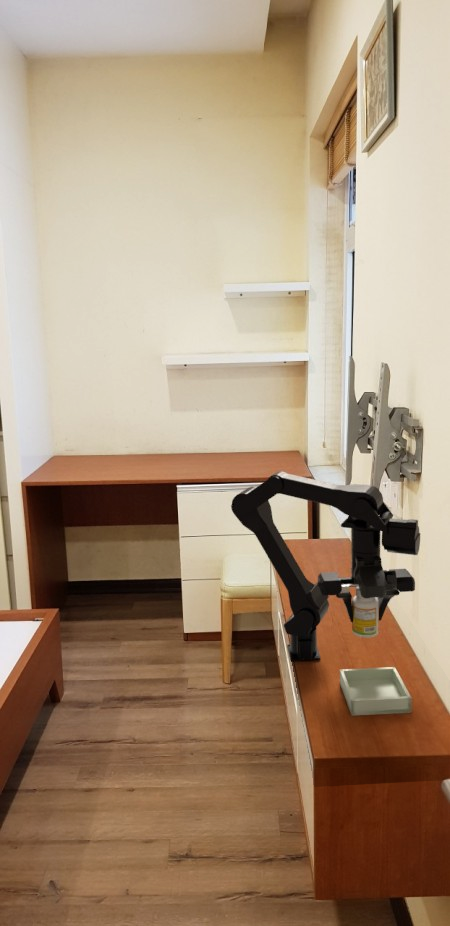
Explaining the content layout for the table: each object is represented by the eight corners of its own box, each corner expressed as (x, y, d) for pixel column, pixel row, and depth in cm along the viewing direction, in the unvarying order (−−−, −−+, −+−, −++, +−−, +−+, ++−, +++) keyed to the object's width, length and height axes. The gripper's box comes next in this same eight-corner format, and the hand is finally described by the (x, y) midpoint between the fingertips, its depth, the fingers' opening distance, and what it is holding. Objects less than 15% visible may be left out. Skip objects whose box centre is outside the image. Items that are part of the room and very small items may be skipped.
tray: (339, 683, 132) (339, 669, 132) (394, 680, 132) (394, 666, 132) (351, 715, 122) (351, 701, 121) (411, 712, 122) (411, 698, 121)
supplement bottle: (359, 623, 141) (360, 581, 139) (383, 630, 137) (383, 586, 135) (347, 633, 137) (347, 589, 135) (370, 640, 133) (371, 595, 131)
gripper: (326, 565, 125) (327, 641, 128) (424, 561, 125) (422, 636, 129) (316, 545, 136) (317, 616, 139) (407, 541, 136) (405, 612, 140)
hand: (365, 620), depth 137 cm, fingers closed on supplement bottle, 5 cm apart
